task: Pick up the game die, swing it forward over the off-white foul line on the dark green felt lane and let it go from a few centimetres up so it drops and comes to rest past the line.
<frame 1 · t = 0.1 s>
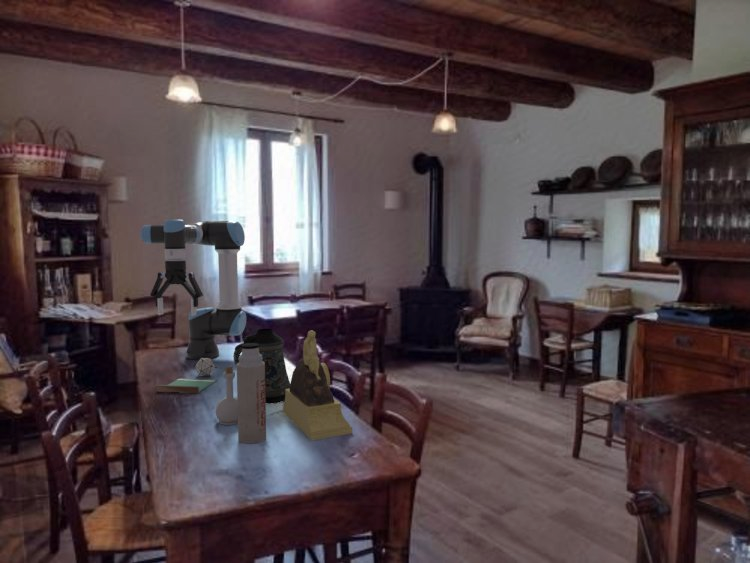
hand: (177, 315, 215), 28 cm above the table, tool pointing down, fingers open, 13 cm apart
potion bottle: (230, 422, 177), on the table
walnut backstop rail: (177, 392, 208), on the table
game die: (205, 376, 232), on the table
seated figure statue: (315, 423, 177), on the table
thermos bottle: (252, 439, 163), on the table
felt lane: (189, 385, 217), on the table
beer stein: (265, 398, 201), on the table
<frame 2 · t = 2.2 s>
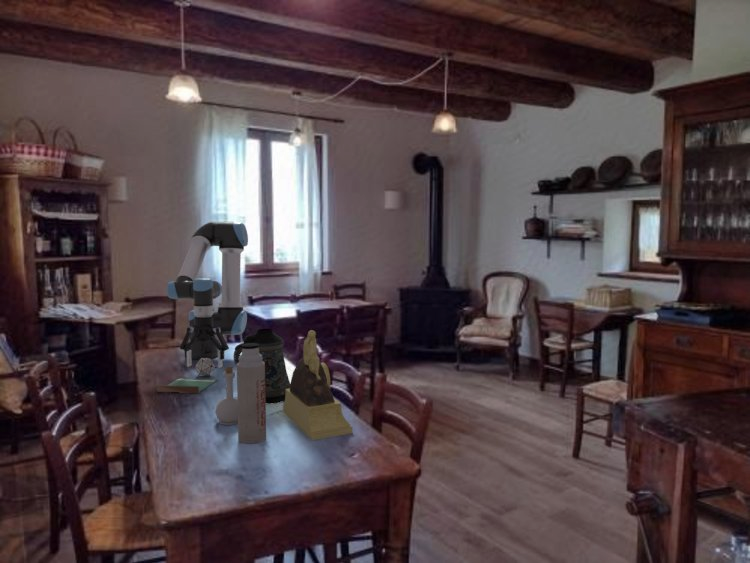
hand: (204, 366, 231), 4 cm above the table, tool pointing down, fingers open, 13 cm apart
nothing on the table moved.
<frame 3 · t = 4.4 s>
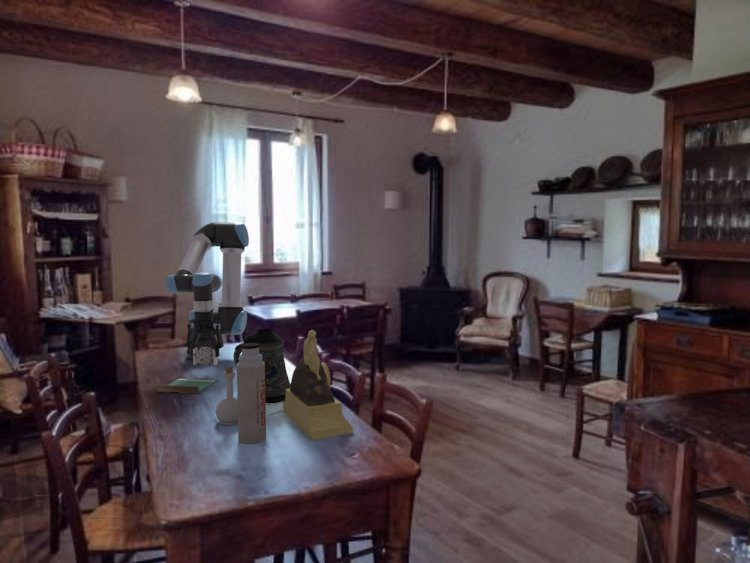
hand: (205, 363, 232), 5 cm above the table, tool pointing down, fingers closed on game die, 8 cm apart
game die: (205, 365, 232), point 4 cm above the table, touching gripper
everything else where it was.
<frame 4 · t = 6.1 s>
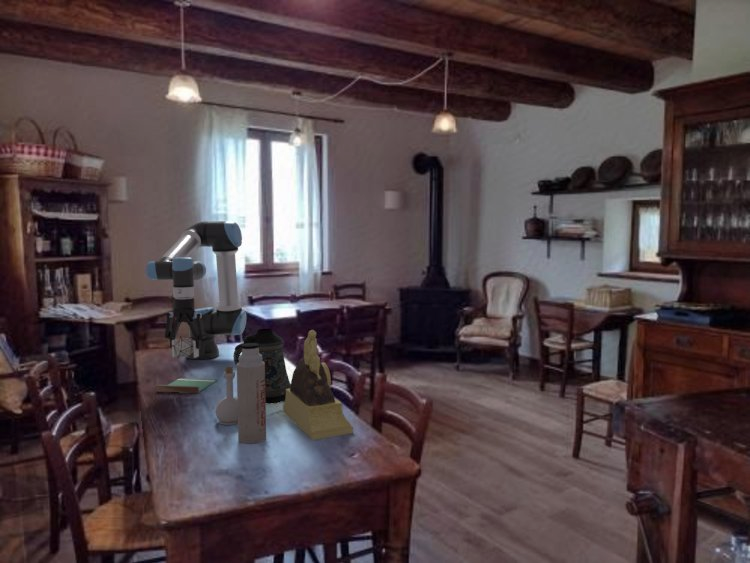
hand: (185, 356, 214), 12 cm above the table, tool pointing down, fingers closed on game die, 8 cm apart
game die: (185, 357, 214), point 12 cm above the table, touching gripper
everything else where it was.
when the fingers open (3 cm above the table, at t = 7.8 s): game die drops 2 cm, resting on felt lane.
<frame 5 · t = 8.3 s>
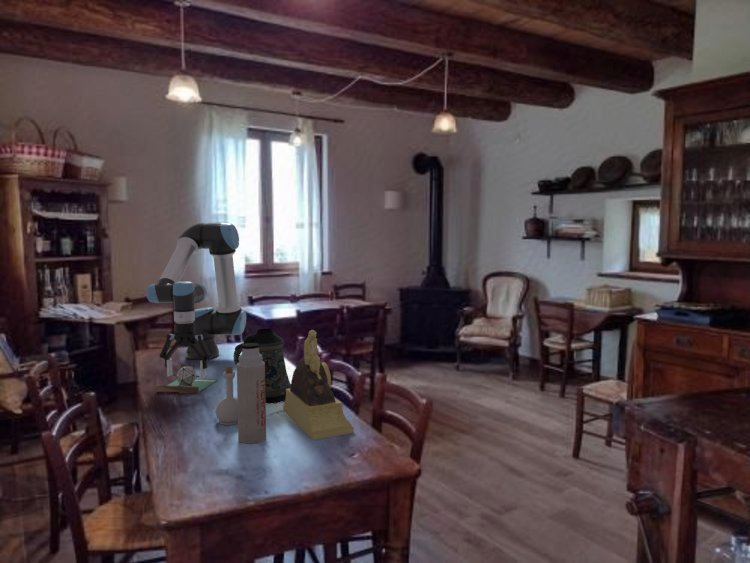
hand: (186, 376, 215), 4 cm above the table, tool pointing down, fingers open, 13 cm apart
game die: (186, 386, 216), resting on felt lane
everything else where it was.
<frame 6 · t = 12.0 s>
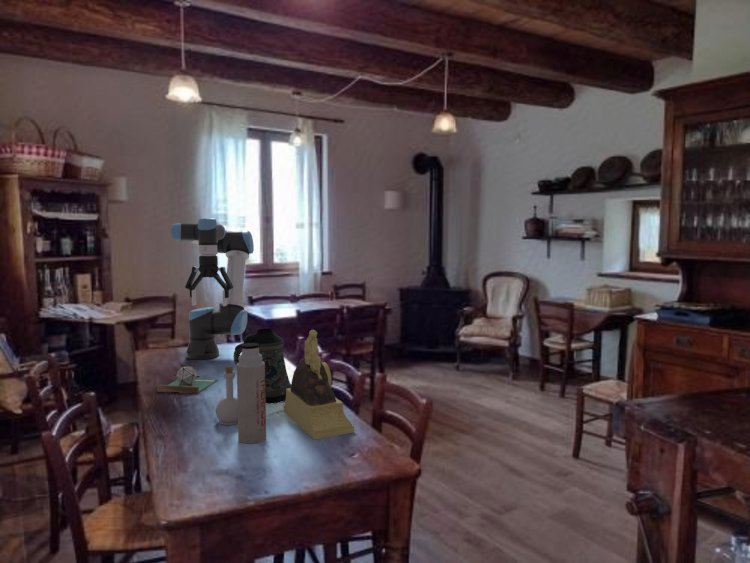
hand: (209, 305, 235), 29 cm above the table, tool pointing down, fingers open, 13 cm apart
nothing on the table moved.
at the end: game die inside the target area (2.2 cm from its centre), resting on felt lane; the gripper is holding nothing; game die moved 16.3 cm from its start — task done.
